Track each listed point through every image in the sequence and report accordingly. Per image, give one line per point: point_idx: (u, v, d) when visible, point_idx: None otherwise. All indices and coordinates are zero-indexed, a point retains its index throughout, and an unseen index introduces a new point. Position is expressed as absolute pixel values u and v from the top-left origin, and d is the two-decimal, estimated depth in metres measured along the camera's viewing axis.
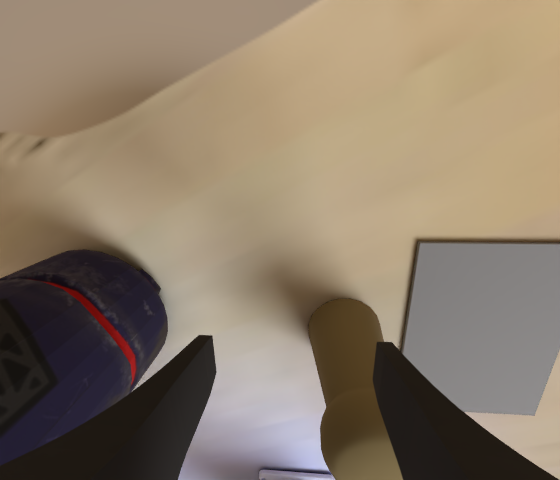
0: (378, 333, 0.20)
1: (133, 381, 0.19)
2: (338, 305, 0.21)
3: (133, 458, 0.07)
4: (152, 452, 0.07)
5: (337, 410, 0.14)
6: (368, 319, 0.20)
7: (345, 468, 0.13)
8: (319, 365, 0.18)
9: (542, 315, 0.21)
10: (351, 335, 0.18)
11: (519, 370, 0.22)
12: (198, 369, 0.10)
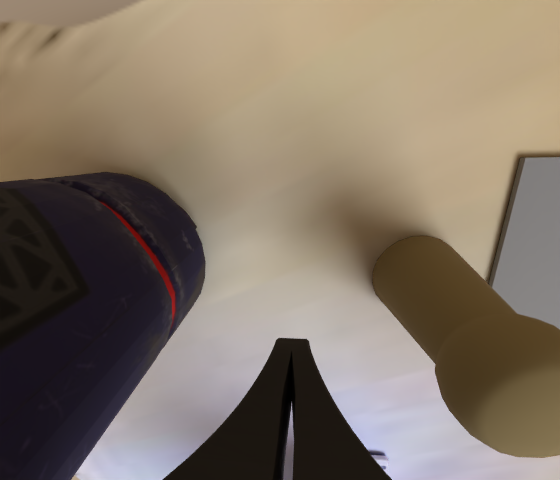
0: None
1: (171, 327, 0.15)
2: (415, 242, 0.17)
3: (276, 469, 0.06)
4: (279, 461, 0.07)
5: (473, 338, 0.10)
6: (457, 255, 0.16)
7: (501, 412, 0.09)
8: (406, 305, 0.15)
9: None
10: (448, 266, 0.15)
11: None
12: (289, 373, 0.10)
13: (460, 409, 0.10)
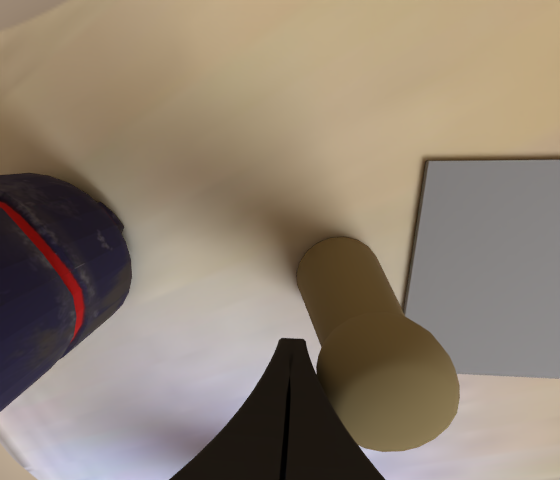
0: (381, 270, 0.16)
1: (82, 324, 0.16)
2: (332, 243, 0.18)
3: (281, 470, 0.06)
4: (283, 462, 0.07)
5: (340, 337, 0.10)
6: (368, 255, 0.17)
7: (354, 409, 0.09)
8: (311, 306, 0.15)
9: None
10: (351, 267, 0.15)
11: (543, 322, 0.19)
12: None
13: None
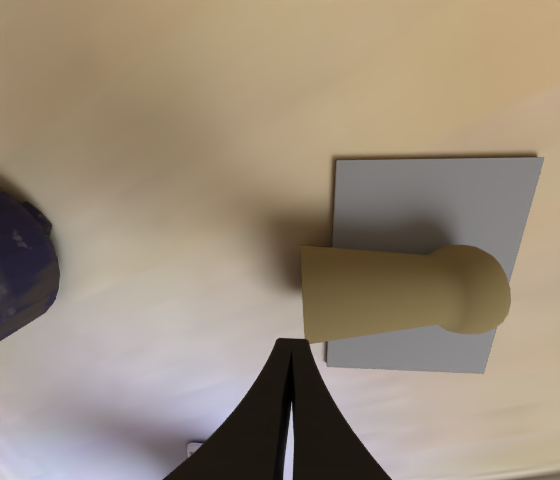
0: None
1: None
2: (314, 253, 0.15)
3: (276, 469, 0.06)
4: (279, 461, 0.07)
5: (481, 270, 0.14)
6: None
7: None
8: (392, 303, 0.14)
9: (484, 249, 0.18)
10: (369, 253, 0.16)
11: None
12: (289, 373, 0.10)
13: (502, 316, 0.14)
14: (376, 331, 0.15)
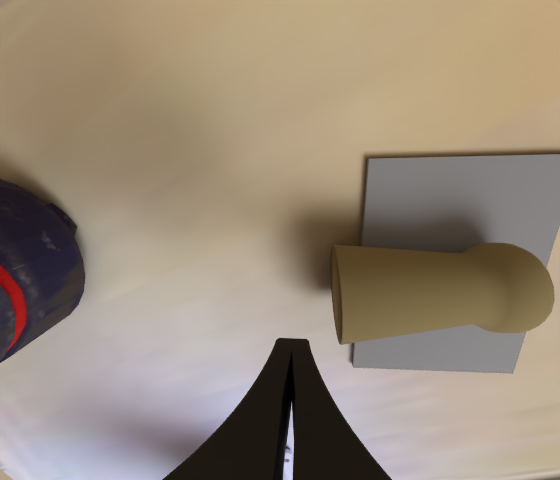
0: None
1: (25, 324, 0.16)
2: (349, 252, 0.15)
3: (276, 470, 0.06)
4: (279, 461, 0.07)
5: (523, 267, 0.13)
6: None
7: None
8: (432, 301, 0.14)
9: None
10: (404, 251, 0.15)
11: None
12: (289, 373, 0.10)
13: (546, 314, 0.13)
14: (414, 330, 0.15)
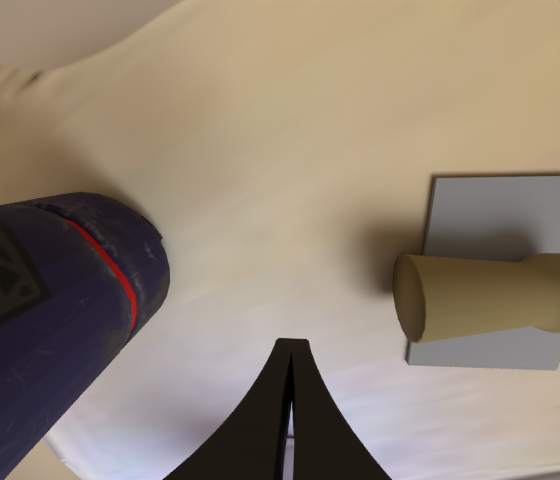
0: None
1: (134, 325, 0.18)
2: (424, 261, 0.17)
3: (276, 469, 0.06)
4: (279, 461, 0.07)
5: None
6: None
7: None
8: (504, 305, 0.16)
9: None
10: (472, 261, 0.17)
11: None
12: (289, 373, 0.10)
13: None
14: (484, 331, 0.17)
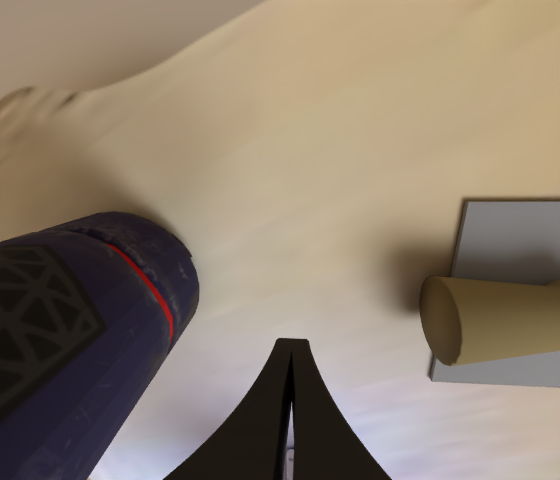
0: None
1: (169, 346, 0.18)
2: (458, 286, 0.17)
3: (276, 469, 0.06)
4: (279, 461, 0.07)
5: None
6: None
7: None
8: (539, 332, 0.16)
9: None
10: (504, 286, 0.18)
11: None
12: (289, 373, 0.10)
13: None
14: (517, 355, 0.17)
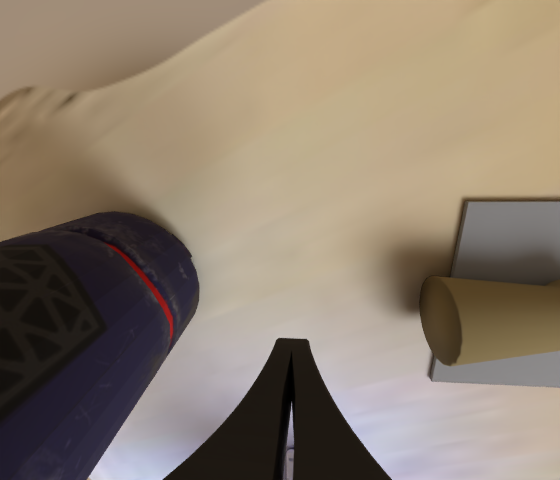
0: None
1: (169, 346, 0.18)
2: (458, 286, 0.17)
3: (276, 469, 0.06)
4: (279, 461, 0.07)
5: None
6: None
7: None
8: (539, 332, 0.16)
9: None
10: (504, 286, 0.18)
11: None
12: (289, 373, 0.10)
13: None
14: (517, 355, 0.17)
